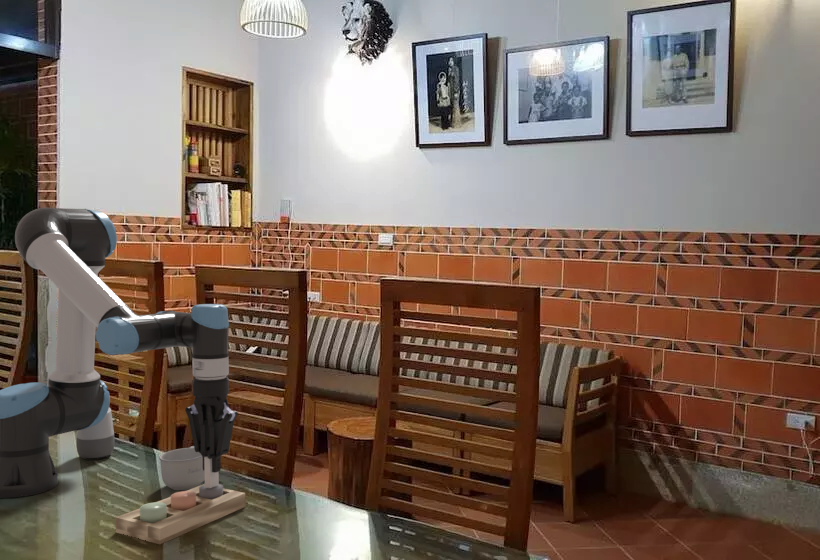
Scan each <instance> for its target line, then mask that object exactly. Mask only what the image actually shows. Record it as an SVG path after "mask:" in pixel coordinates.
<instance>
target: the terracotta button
mask: <svg viewBox="0 0 820 560" xmlns="http://www.w3.org/2000/svg"><path fill="white" fill-rule="evenodd" d="M170 497H171V508H173V509H177V510H181V511H185V510H188V509H190V508H192V507H195V506H196V493H195V492H192V491H187V490H180V491H176V492H174V493H172V494H170Z"/></svg>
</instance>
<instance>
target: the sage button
mask: <svg viewBox="0 0 820 560" xmlns="http://www.w3.org/2000/svg"><path fill="white" fill-rule="evenodd" d="M139 508H140V521H144V522H148V523H152V524H153V523H156V522H158V521H160V520H163V519H165V518H167V505H166V504H165V503H161V502H158V501H155V502H148V503H145V504H143V505H141V506H139Z"/></svg>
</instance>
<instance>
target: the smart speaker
mask: <svg viewBox="0 0 820 560" xmlns="http://www.w3.org/2000/svg"><path fill="white" fill-rule="evenodd" d="M75 442H76V451H77V452H76V453H77V455H78V456H79V457H80V458H82V460H83V459H84V460H88V461H89V460H101V459H105V458H107V457H109V456H111V455H112V453H113V452H114V448H115V445H116V444H115V431H114V423H113V415H112V408H111V407H110V406H109V409H108V412H107V414H106V416H105V417H104V419H103V420H102V421H100V423H98V424H97V425H94V426H91V427H88V428H86V429H83V430H76V441H75Z"/></svg>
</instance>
